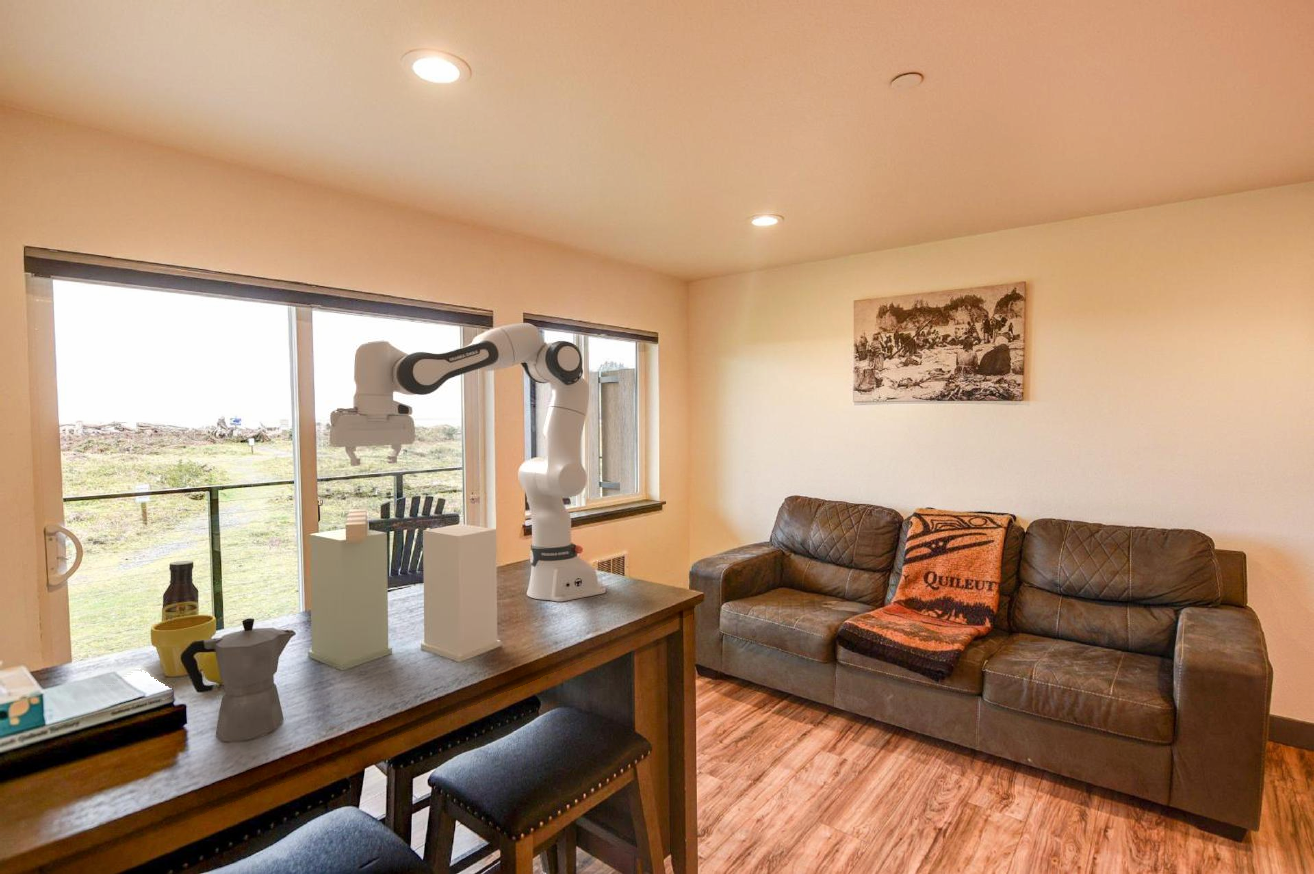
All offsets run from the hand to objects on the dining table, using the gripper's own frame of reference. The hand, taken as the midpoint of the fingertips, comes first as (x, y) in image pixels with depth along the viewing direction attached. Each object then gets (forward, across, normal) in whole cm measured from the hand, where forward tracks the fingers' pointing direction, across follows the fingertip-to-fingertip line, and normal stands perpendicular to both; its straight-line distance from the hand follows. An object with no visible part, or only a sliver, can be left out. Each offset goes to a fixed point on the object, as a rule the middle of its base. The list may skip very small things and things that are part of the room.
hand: (374, 464), depth 151 cm
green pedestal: (+39, -14, -14) cm, 44 cm away
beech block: (+13, -13, -15) cm, 24 cm away
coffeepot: (+39, -41, -32) cm, 65 cm away
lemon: (+39, -36, -9) cm, 54 cm away
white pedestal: (+39, +2, -30) cm, 49 cm away
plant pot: (+39, -38, +5) cm, 55 cm away
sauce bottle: (+39, -35, +15) cm, 55 cm away
